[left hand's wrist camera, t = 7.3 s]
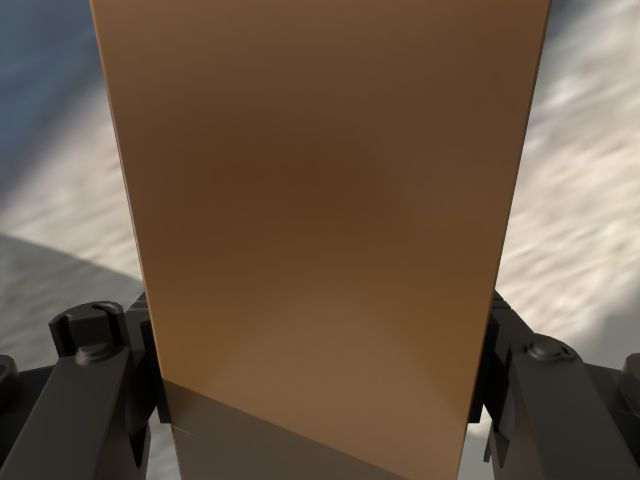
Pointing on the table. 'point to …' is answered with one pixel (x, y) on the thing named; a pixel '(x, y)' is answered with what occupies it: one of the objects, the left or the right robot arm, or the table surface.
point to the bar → (320, 219)
